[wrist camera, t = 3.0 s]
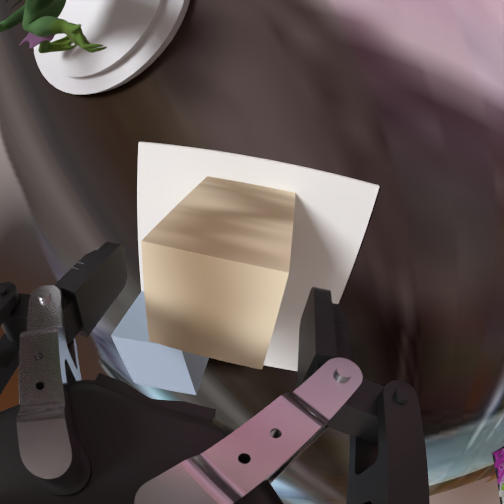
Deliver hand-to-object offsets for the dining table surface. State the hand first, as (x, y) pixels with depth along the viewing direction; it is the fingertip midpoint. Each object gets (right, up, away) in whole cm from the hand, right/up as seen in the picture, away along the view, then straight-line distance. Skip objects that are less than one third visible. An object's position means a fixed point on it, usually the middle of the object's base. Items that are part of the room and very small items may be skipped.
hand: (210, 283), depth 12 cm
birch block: (+1, +3, +6) cm, 6 cm away
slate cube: (-4, -4, +10) cm, 12 cm away
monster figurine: (-7, +16, 0) cm, 18 cm away
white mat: (+1, 0, +8) cm, 8 cm away
